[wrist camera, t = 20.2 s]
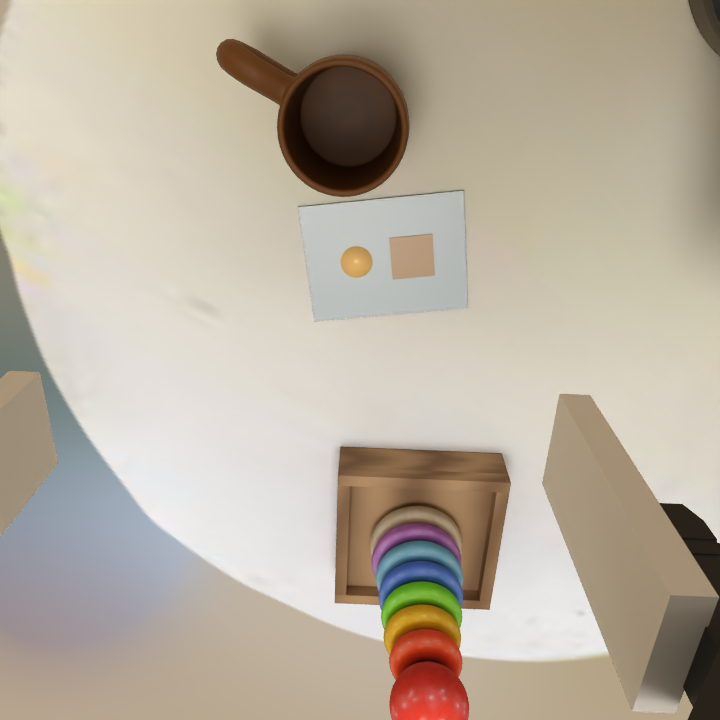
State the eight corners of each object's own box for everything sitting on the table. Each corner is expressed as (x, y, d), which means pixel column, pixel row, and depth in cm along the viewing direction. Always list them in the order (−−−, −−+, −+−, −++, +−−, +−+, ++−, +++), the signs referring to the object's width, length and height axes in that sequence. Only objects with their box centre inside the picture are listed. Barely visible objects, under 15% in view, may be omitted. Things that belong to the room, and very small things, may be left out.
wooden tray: (501, 453, 55) (510, 482, 51) (482, 575, 61) (489, 609, 57) (340, 446, 55) (338, 475, 52) (337, 569, 61) (334, 602, 58)
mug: (217, 101, 44) (179, 112, 35) (268, -9, 41) (240, -26, 32) (367, 193, 46) (365, 224, 37) (425, 96, 43) (438, 105, 35)
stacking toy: (479, 542, 56) (524, 754, 39) (407, 585, 58) (421, 802, 41) (423, 485, 53) (446, 684, 36) (351, 532, 56) (341, 741, 39)
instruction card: (463, 190, 46) (463, 191, 45) (467, 307, 50) (467, 308, 49) (298, 206, 46) (297, 207, 46) (314, 320, 50) (314, 322, 50)
